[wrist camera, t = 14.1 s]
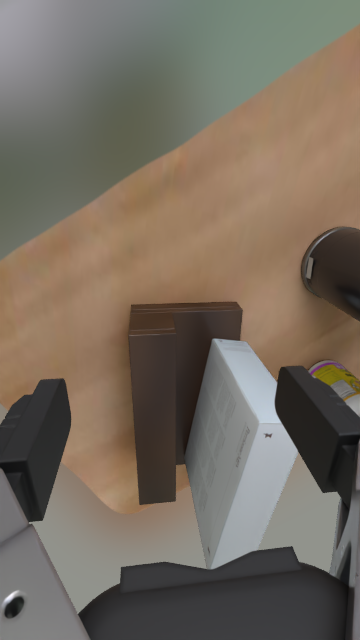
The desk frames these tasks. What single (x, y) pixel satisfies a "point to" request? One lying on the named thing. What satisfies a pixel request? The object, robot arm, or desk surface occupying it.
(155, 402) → the metal step block
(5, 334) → the desk surface
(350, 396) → the supplement bottle
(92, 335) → the desk surface
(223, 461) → the skincare box
